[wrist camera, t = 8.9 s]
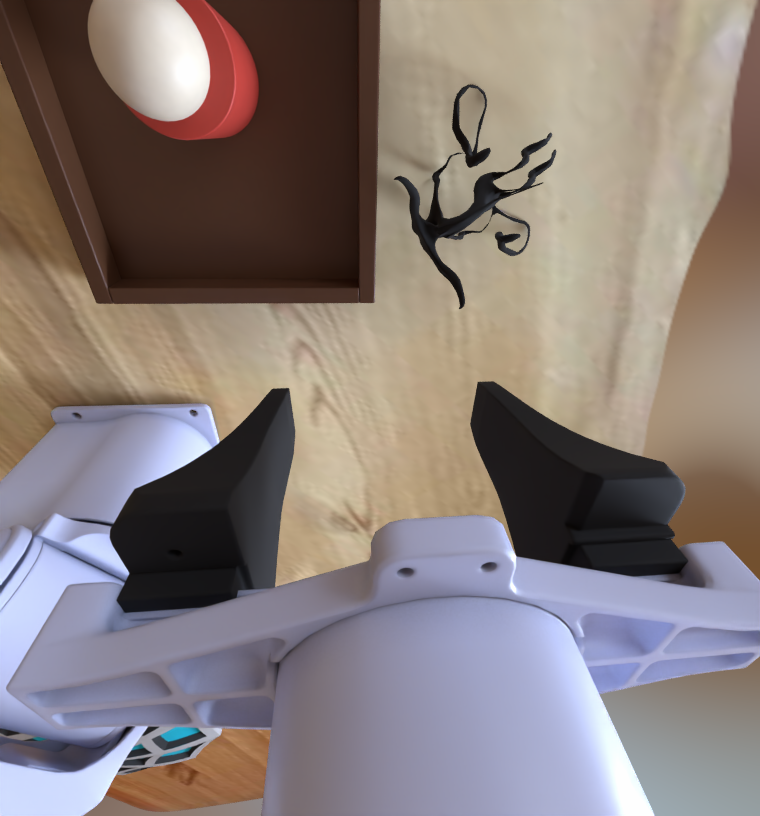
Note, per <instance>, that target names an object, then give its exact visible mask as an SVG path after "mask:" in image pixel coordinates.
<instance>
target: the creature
mask: <svg viewBox="0 0 760 816" xmlns="http://www.w3.org/2000/svg"><path fill="white" fill-rule="evenodd" d="M469 87H470V88H477V89H478V90H479V91H480V92H481V93H482V94H483V95H484V99H485V108H484V111H483V114H482V116H481V119H480V122H479V126H478V132H477V138H476V144H475V147H474V150H473V152H472V149H471V146H470V144H469V141H468V140H467V138H466V137H465V135H464V134H463V133H462V131H461V129H460V125H459V99H460V98H461V96H462V95H463V94H464V93H465V92H466V90H467V89H468V88H469ZM486 107H487V99H486V95H485V92H484V91H483V90H482V89H480V88H479V87H478V86H475V85H467V86H465V87H463V88H462V89H461V90H460V91H459V92H458V94H457V96H456V99H455V102H454V110H453V123H452V129H453V132H454V134H455V136H456V139H457V140H458V142H459V143H460V144H461V147H462V149H463V151H464V152H465V153H464V154H466V156H465V158H466V163H467V166H468V167H469V168H471V167H473V166H477V165H478V164H479V163H481V162H483V161H484V160H485V159H486V158H487V157H488V156H489V154H490V148H486V149H484V150H482V151H480V152H478V153H477V146H478V136H479V132H480V129H481V125H482V122H483V118H484V114H485V111H486ZM551 137H552V133H549V135H548V136H547V138H546V139H543V140H541V141H539V142H537V143H534V144H531V145H529V146H527V147H526V148H524V149H523V150H522V151H521V155H522V157H523V158H522V161H521V162H520V163H519V164H518V165H516V166H515V167H514V168H513V169H511V170H509V171H507V172H491V173H487V174H484V175H482V176H481V177H479V179H478V180H477V181H476V183H475V187H474V203H473V204H472V205H471V207H470V208H469V209H468V210H467V211H466V212H464V213H463V214H461V215H460V216H457V217H454V218H450V219H447V218H443V214H442V211H441V209H440V205H439V201H438V187H439V183H440V178H439V175H440V174H441V172H442V171H443V170H444V169H445V168H446V166H447V164H448V162H449V160H450V158H451V157H452V156H453V155H457V154H462V153H456V154H453V155H451V156H450V157H449V158H448V160H447V162H446V164H445V165H444V166H443V167H442V168H440V169H439V170H438V171H436V172H435V173H434V174H433V176H432V179H433V181H434V194H433V200H432V204H431V209H430V214H429V216H428V218H427V219H426V221H425V220H424V219H423V218H422V217H421V216H420V215H419V205H420V197H419V193H418V191H417V189H416V188H415V187H414V185H413V184H412V183H411V182H410V181H409V180H408V179H406V178H404V177H402V176H398V177H396V178H395V179H394V180H399V181H400V182H401V183H403V185H404V186H405V187H406V189H407V191H408V193H409V195H410V214H411V218H412V229H413V231H414V232H415V233H416V234H417V235H418V237H419V239H420V243H421V245H422V247H423V249H424V250H425V252H426V253H427V254H428V255H429V256H430V258H431V259H432V260H433V262H434V264H435V265H436V267H437V268H438V270H439V271H440V273H441V274H442V275H443V276H445V277H446V278H447V279H448V280H449V281H450V282H451V284H452V285H453V287H454V289H455V290H456V292H457V295H458V298H459V302H460V307H459V309H461V308H463V307H464V304H465V297H464V292H463V288H462V285H461V281H460V279H459V278H458V276H457V275H456V274H455V273H454V272H453V271H452V270H451V269H450V268H448V267H447V266H446V265H445V264H444V263H443V262H442V261H441V259H440V258H439V256H438V254H437V252H436V249H435V242H436V240H437V239H438V238H441V237H445V238H448V239H449V238H451V239H455V240H457V239H460V240H461V239H463V237H464V235H466V234H469V233H480V232H482V231H483V230H484V229H485V228H486V227H487V226H488V224H489V223H488V224H487V225H486V226H485V228H484V229H483V230H482V231H462V230H463V229H465V228H466V227H467V226H469V225H470V224H471V223H473V222H474V221H475V220H476V219H477V218H479V217H480V216H481V215H482V214H483V213H484V212H486V211H488V210H490V209H491V208H492V215H494V214H496V213H499V214H501V215H503V216H505V217H506V218H508V219H510V220H512V221H514V222H518V223H522V224H525V225H526V227H527V228H528V238H527V241H526V244H525V246H524V247H523V248H522V249H521V250H520V251H519V252H516V251H513V250H511V249H509V248H506V246H505V243H509V242H512V241H514V240H516V239H518V238H519V237H520V234H509V235H503V233H502V232H497V233H496V234H495V238H496V240H497V242H498V248H499V250H501V251H502V252H504V253H506V254H508V255H510V256H515V255H518V254H520V253H522V252H523V250H524V249H525V248H526V246H527V243H528V241H529V236H530V226H529V224H528V223H527V222H525V221H522V220H518V219H515V218H513V217H510V216H507V215H506V214H504V213H503V212H501V211H500V210H499V209H498V208H496V206H495V204H496V203H497V202H498V201H499V200H501V199H503V198H506V197H509V196H511V195H514V194H516V193H519V192H522V191H524V190H527V189H529V188H532V187H535V186H537V185H540V184H542V183H540V184H537V185H534V186H531V185H532V184H533V183H534V182H535V178H536V176H538V175H540V174H541V173H542V172H543V171H545V170H546V169H547V168H549V167H550V166H551V165H552V163H553V160H554V158H555V155H556V149H555V150H554V151H553V153H552V157H551V159H550V160H548V161H547V162H545V163H543V164H541V165H539V166H537V167H536V168H534V169H533V170H531V171H530V172H529V174H528V177H529V179H528V180H527V182H526V183H525V184H524V185H523V186H522V187H521V188H519V189H514V190H516V191H513V190H502V189H499V188H497V187H496V186H495V185H494V183H493V181H494V180H496V179H498V178H500V177H502V176H504V175H505V174H507V173H510V172H512V171H515V170H517V169H520V168H522V167H523V166H524V165H526V164H527V163H528V162H529V155H530V154H532V153H534V152H536V151H537V150H539V149H541V148H542V147H543V146H545V145H546V144H547V142H548V141H549V140H550V138H551ZM506 191H513V192H506ZM517 191H518V192H517ZM514 192H516V193H514ZM512 193H513V194H512ZM492 215H491V217H492ZM490 220H491V218H490ZM489 222H490V221H489ZM460 231H462V232H460ZM458 232H459V234H458V236H454V235H455V234H457V233H458Z"/></svg>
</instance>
